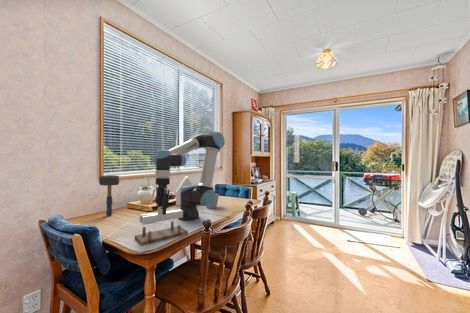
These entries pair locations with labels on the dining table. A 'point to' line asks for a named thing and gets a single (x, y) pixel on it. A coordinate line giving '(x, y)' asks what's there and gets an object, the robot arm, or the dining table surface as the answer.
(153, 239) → the tool rack
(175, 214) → the grey long bar
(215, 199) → the potted plant
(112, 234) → the dining table surface
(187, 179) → the milk carton
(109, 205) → the rubber mallet
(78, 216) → the dining table surface
